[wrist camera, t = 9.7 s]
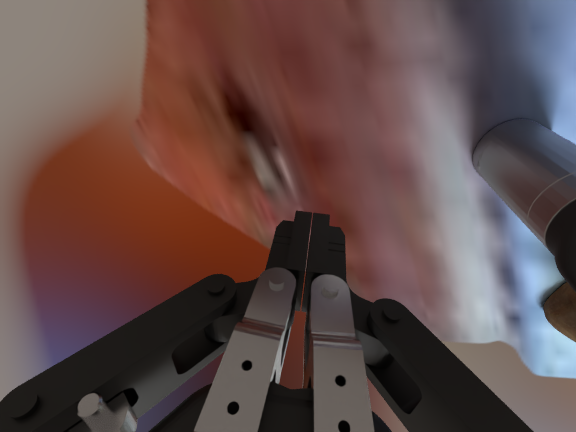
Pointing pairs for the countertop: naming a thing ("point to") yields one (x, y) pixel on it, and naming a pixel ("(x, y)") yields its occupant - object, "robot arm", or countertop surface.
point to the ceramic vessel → (562, 310)
